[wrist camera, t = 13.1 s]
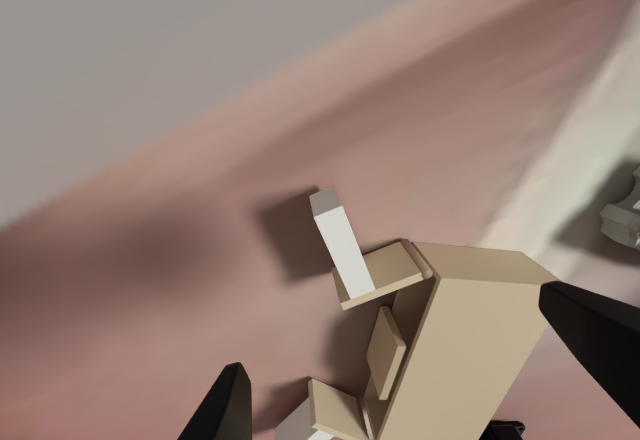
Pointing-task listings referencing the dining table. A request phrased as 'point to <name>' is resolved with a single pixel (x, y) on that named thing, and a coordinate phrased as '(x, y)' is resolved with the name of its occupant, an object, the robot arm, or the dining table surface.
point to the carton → (453, 343)
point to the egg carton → (624, 218)
